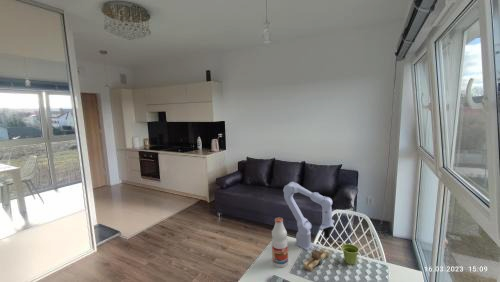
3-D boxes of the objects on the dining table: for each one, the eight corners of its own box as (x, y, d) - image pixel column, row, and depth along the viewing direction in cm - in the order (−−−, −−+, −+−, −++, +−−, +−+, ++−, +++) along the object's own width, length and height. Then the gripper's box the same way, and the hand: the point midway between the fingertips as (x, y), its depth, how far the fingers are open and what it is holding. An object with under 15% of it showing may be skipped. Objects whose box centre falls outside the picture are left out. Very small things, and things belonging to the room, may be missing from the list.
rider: (317, 262, 136) (317, 254, 136) (311, 259, 139) (311, 252, 139) (321, 259, 139) (321, 252, 138) (315, 256, 142) (315, 249, 141)
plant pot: (356, 269, 132) (356, 254, 131) (339, 263, 137) (339, 249, 136) (360, 260, 139) (360, 246, 138) (344, 255, 145) (344, 242, 144)
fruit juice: (284, 256, 146) (282, 214, 143) (290, 266, 137) (289, 221, 134) (270, 260, 143) (268, 217, 140) (276, 269, 134) (274, 224, 131)
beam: (311, 272, 130) (311, 267, 130) (302, 267, 135) (302, 262, 135) (330, 257, 144) (330, 252, 143) (320, 252, 148) (320, 248, 148)
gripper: (326, 222, 139) (327, 244, 140) (338, 215, 148) (338, 235, 150) (316, 219, 144) (316, 239, 146) (328, 211, 154) (328, 231, 155)
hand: (327, 237), depth 148 cm, fingers closed
